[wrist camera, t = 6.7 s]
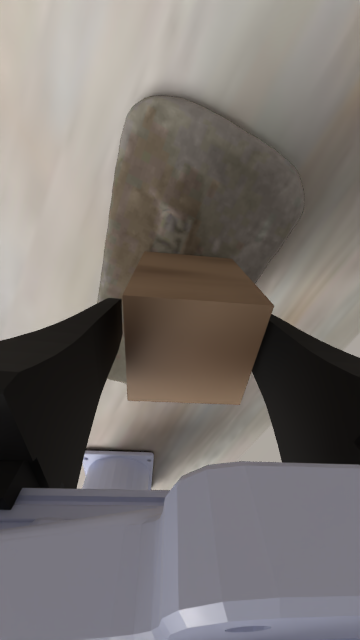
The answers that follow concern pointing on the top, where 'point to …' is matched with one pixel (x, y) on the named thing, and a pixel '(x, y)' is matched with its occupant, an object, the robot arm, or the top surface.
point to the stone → (194, 195)
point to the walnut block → (191, 329)
